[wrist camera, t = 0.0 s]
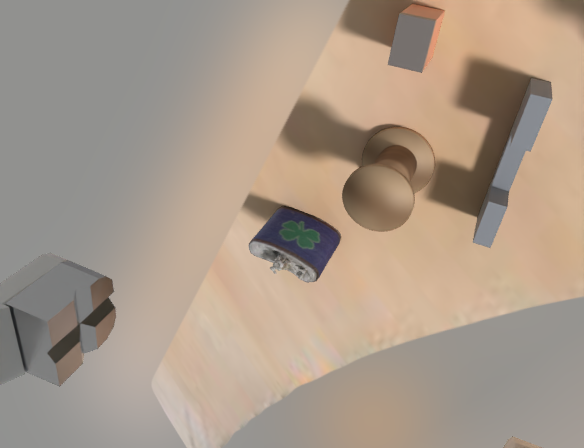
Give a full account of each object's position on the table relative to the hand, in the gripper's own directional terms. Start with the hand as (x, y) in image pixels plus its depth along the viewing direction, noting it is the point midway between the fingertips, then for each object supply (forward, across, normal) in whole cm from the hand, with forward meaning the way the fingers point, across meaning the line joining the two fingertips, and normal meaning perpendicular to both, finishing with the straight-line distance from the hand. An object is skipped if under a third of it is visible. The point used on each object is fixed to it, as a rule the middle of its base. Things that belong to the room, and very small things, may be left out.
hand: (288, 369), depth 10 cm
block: (+48, +5, +3) cm, 48 cm away
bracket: (+48, -7, +13) cm, 50 cm away
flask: (+48, +13, +29) cm, 58 cm away
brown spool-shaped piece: (+48, +4, +17) cm, 51 cm away
